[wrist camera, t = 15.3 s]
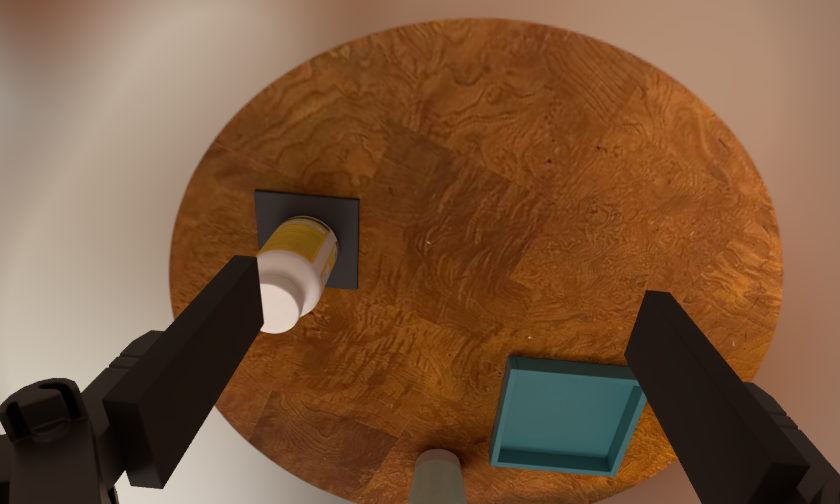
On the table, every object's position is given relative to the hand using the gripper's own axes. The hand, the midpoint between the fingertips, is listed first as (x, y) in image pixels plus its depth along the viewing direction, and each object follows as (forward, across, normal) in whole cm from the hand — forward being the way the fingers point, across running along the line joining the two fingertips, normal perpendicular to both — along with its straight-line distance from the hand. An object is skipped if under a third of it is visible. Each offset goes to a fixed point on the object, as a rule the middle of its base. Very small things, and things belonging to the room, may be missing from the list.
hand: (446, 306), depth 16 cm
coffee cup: (+28, +3, -43) cm, 51 cm away
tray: (+28, +17, -32) cm, 46 cm away
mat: (+28, -13, -12) cm, 33 cm away
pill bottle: (+27, -13, -12) cm, 32 cm away
